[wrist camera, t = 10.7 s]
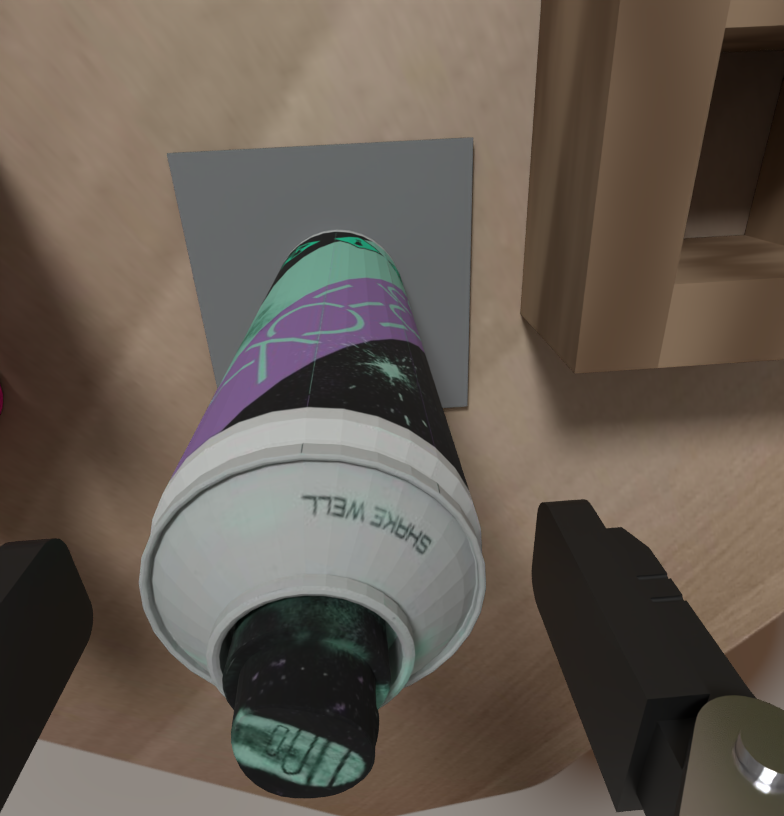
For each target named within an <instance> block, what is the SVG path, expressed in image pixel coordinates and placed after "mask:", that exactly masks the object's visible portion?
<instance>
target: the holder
mask: <svg viewBox="0 0 784 816" xmlns="http://www.w3.org/2000/svg"><path fill="white" fill-rule="evenodd" d="M766 50H784V0H541V15H540V30H539V44H538V59H537V74H536V89H535V104H534V119H533V134H532V148H531V163H530V178H529V193H528V208H527V223H526V238H525V253H524V267H523V282H522V297H521V312H520V314H521V315H522V316H523V317H524V318H525V319H526V320H527V321H528V322H529V324H530V325H531V326H532V327H533V328H534V329H535V330H536V331H537V332H538V334H539V335H540V336H541V337H542V338H543V339H544V340H545V341H546V342H547V344H548V345H549V346H550V347H551V348H552V349H553V350H554V351H555V352H556V353H557V355H558V356H559V357H560V358H561V359H562V360H563V361H564V362H565V363H566V365H567V366H568V367H569V368H570V369H571V370H572V371H573V372H574V373H575V374H577V373H592V372H607V371H621V370H636V369H651V368H665V367H680V366H695V365H709V364H724V363H739V362H753V361H768V360H783V359H784V78H783V82H782V86H781V90H780V94H779V98H778V102H777V106H776V110H775V114H774V118H773V122H772V126H771V130H770V134H769V138H768V142H767V146H766V150H765V154H764V158H763V163H762V167H761V171H760V175H759V179H758V183H757V187H756V191H755V195H754V199H753V203H752V207H751V211H750V215H749V219H748V223H747V227H746V231H745V235H735V236H719V237H702V238H685V239H683V238H684V233H685V228H686V223H687V218H688V213H689V208H690V203H691V198H692V193H693V188H694V183H695V178H696V173H697V168H698V163H699V158H700V152H701V147H702V142H703V137H704V132H705V127H706V122H707V117H708V112H709V107H710V102H711V97H712V92H713V87H714V82H715V77H716V72H717V67H718V62H719V57H720V53H723V52H745V51H766Z"/></svg>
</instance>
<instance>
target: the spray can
mask: <svg viewBox="0 0 784 816" xmlns="http://www.w3.org/2000/svg"><path fill="white" fill-rule="evenodd" d="M139 587H140V593H141V599H142V604H143V609H144V611H145V614H146V616H147V618H148V620H149V622H150V625H151V627H152V629H153V631H154V633H155V634H156V635H157V637H158V638H159V639H160V640H161V642H162V643H163V644H164V646H165V647H166V648H167V650H168V651H169V652H170V653H171V654H172V655H173V656H174V657H175V658H177V659H178V660H179V661H180V662H181V663H182V664H183V665H185V666H186V667H187V668H188V669H189V670H190V671H192V672H193V673H195V674H197V675H198V676H200V677H202V678H203V679H205V680H207V681H208V682H210V683H212V684H213V685H215V686H216V687H217V688H218V690H219V691H220V692H221V694H222V695H223V696H225V697H226V699H227V701H228V703H229V704H230V706H231V707H232V708H233V710H234V715H233V722H232V729H231V743H232V748H233V752H234V755H235V758H236V760H237V762H238V764H239V766H240V768H241V769H242V771H243V772H244V774H245V775H246V776H247V777H248V778H249V779H250V780H251V781H252V782H254V783H255V784H256V785H257V786H259V787H261V788H262V789H264V790H266V791H267V792H270V793H273V794H276V795H279V796H282V797H290V798H318V797H327V796H332V795H336V794H339V793H342V792H344V791H346V790H348V789H350V788H352V787H354V786H355V785H356V784H358V783H359V782H360V781H362V780H363V779H364V778H365V777H366V776H367V775H368V773H369V772H370V771H371V769H372V766H373V764H374V760H375V746H376V742H377V737H378V731H379V712H378V709H379V708H380V707H382V706H384V705H385V704H387V703H388V702H389V701H390V700H392V699H393V698H394V697H395V696H396V695H397V694H399V692H400V691H401V690H402V688H405V687H407V686H410V685H412V684H413V683H415V682H417V681H418V680H420V679H422V678H423V677H425V676H427V675H428V674H430V673H432V672H433V671H435V670H436V669H437V668H438V667H439V666H440V665H442V664H443V663H444V662H445V661H446V660H447V659H449V658H450V657H451V656H452V655H453V654H454V653H455V652H456V651H457V650H458V648H459V647H460V646H461V645H462V643H463V642H464V641H465V640H466V638H467V637H468V636H469V635H470V633H471V631H472V629H473V627H474V625H475V623H476V621H477V619H478V617H479V615H480V613H481V609H482V604H483V600H484V595H485V591H486V577H485V562H484V559H483V556H482V542H481V527H480V524H479V521H478V517H477V514H476V511H475V508H474V504H473V501H472V498H471V495H470V492H469V489H468V486H467V483H466V479H465V476H464V473H463V470H462V467H461V464H460V461H459V458H458V455H457V451H456V448H455V445H454V442H453V439H452V436H451V433H450V430H449V426H448V423H447V420H446V417H445V414H444V411H443V408H442V405H441V402H440V398H439V395H438V392H437V389H436V386H435V383H434V380H433V377H432V374H431V370H430V367H429V364H428V361H427V358H426V355H425V352H424V349H423V346H422V342H421V339H420V336H419V333H418V330H417V327H416V324H415V321H414V317H413V314H412V311H411V308H410V305H409V302H408V299H407V296H406V293H405V289H404V286H403V283H402V280H401V277H400V274H399V271H398V269H397V267H396V265H395V263H394V261H393V260H392V258H391V257H390V255H389V254H388V253H387V252H386V251H385V249H384V248H383V247H382V246H380V245H379V244H378V243H377V242H375V241H374V240H373V239H371V238H369V237H367V236H365V235H363V234H360V233H357V232H353V231H350V230H329V231H323V232H320V233H317V234H315V235H312V236H310V237H309V238H307V239H305V240H304V241H302V242H301V243H300V244H299V245H298V246H297V247H296V248H294V249H293V251H291V253H290V254H289V256H288V257H287V259H286V260H285V261H284V263H283V265H282V267H281V269H280V271H279V273H278V275H277V276H276V278H275V280H274V282H273V284H272V286H271V288H270V290H269V292H268V294H267V296H266V298H265V299H264V301H263V303H262V305H261V307H260V309H259V311H258V313H257V315H256V317H255V319H254V320H253V322H252V324H251V326H250V328H249V330H248V332H247V334H246V336H245V338H244V340H243V341H242V343H241V345H240V347H239V349H238V351H237V353H236V355H235V357H234V359H233V361H232V363H231V364H230V366H229V368H228V370H227V372H226V374H225V376H224V378H223V380H222V382H221V384H220V385H219V387H218V389H217V391H216V393H215V395H214V397H213V399H212V401H211V403H210V405H209V406H208V408H207V410H206V412H205V414H204V416H203V418H202V420H201V422H200V424H199V426H198V428H197V429H196V431H195V433H194V435H193V437H192V439H191V441H190V443H189V445H188V447H187V449H186V450H185V452H184V454H183V456H182V458H181V460H180V462H179V464H178V466H177V468H176V470H175V471H174V473H173V475H172V477H171V479H170V481H169V483H168V485H167V487H166V489H165V491H164V493H163V495H162V497H161V500H160V502H159V505H158V507H157V510H156V512H155V515H154V517H153V520H152V527H151V535H150V538H149V540H148V543H147V545H146V548H145V550H144V553H143V555H142V559H141V568H140V577H139Z"/></svg>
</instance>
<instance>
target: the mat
mask: <svg viewBox="0 0 784 816" xmlns="http://www.w3.org/2000/svg"><path fill="white" fill-rule="evenodd" d="M167 157H168V162H169V166H170V171H171V176H172V180H173V185H174V190H175V194H176V199H177V203H178V208H179V213H180V217H181V222H182V227H183V231H184V236H185V241H186V245H187V250H188V254H189V259H190V264H191V268H192V273H193V278H194V282H195V287H196V292H197V296H198V301H199V305H200V310H201V315H202V319H203V324H204V329H205V333H206V338H207V343H208V347H209V352H210V356H211V361H212V366H213V370H214V375H215V380H216V384H217V389H218V387H219V385H220V384H221V382H222V380H223V378H224V376H225V374H226V372H227V370H228V368H229V366H230V364H231V363H232V361H233V359H234V357H235V355H236V353H237V351H238V349H239V347H240V345H241V343H242V341H243V340H244V338H245V336H246V334H247V332H248V330H249V328H250V326H251V324H252V322H253V320H254V319H255V317H256V315H257V313H258V311H259V309H260V307H261V305H262V303H263V301H264V299H265V298H266V296H267V294H268V292H269V290H270V288H271V286H272V284H273V282H274V280H275V278H276V276H277V275H278V273H279V271H280V269H281V267H282V265H283V263H284V261H285V260H286V259H287V257H288V256H289V254H290V253H291V251H293V249H294V248H296V247H297V246H298V245H299V244H300V243H301V242H302V241H304V240H305V239H307V238H309V237H310V236H312V235H315V234H317V233H320V232H323V231H329V230H350V231H353V232H357V233H360V234H363V235H365V236H367V237H369V238H371V239H373V240H374V241H375V242H377V243H378V244H379V245H380V246H382V247H383V248H384V249H385V251H386V252H387V253H388V254H389V255H390V257H391V258H392V260H393V261H394V263H395V265H396V267H397V269H398V271H399V274H400V277H401V280H402V283H403V286H404V289H405V293H406V296H407V299H408V302H409V305H410V308H411V311H412V314H413V317H414V321H415V324H416V327H417V330H418V333H419V336H420V339H421V342H422V346H423V349H424V352H425V355H426V358H427V361H428V364H429V367H430V370H431V374H432V377H433V380H434V383H435V386H436V389H437V392H438V395H439V398H440V402H441V405H442V408H449V407H463V406H467V394H468V349H469V303H470V258H471V212H472V166H473V138H452V139H432V140H413V141H394V142H375V143H355V144H336V145H317V146H297V147H278V148H259V149H240V150H220V151H201V152H182V153H167Z"/></svg>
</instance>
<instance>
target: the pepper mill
mask: <svg viewBox="0 0 784 816" xmlns="http://www.w3.org/2000/svg"><path fill="white" fill-rule="evenodd" d="M2 407H3V393H2V389H1V385H0V415H1V411H2Z"/></svg>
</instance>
